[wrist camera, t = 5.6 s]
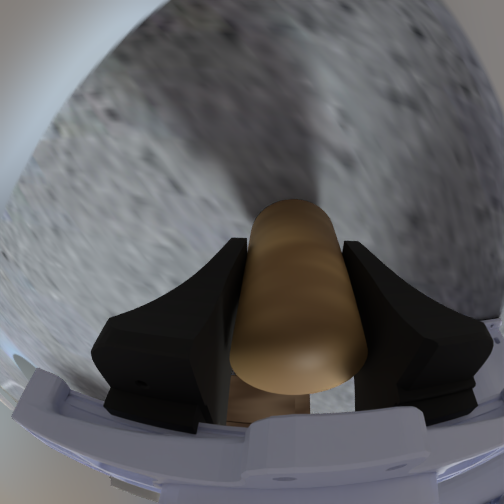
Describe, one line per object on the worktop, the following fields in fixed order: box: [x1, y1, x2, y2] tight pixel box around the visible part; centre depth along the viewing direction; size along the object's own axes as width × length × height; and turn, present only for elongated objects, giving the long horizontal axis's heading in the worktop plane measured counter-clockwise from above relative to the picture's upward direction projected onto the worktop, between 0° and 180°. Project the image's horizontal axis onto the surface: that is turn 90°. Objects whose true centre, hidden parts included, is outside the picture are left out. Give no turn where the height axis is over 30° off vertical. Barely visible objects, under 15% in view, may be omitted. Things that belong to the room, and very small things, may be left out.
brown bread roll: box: [229, 199, 368, 395], centre depth 10 cm, size 4×4×7 cm
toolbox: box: [226, 375, 310, 424], centre depth 24 cm, size 13×11×4 cm
